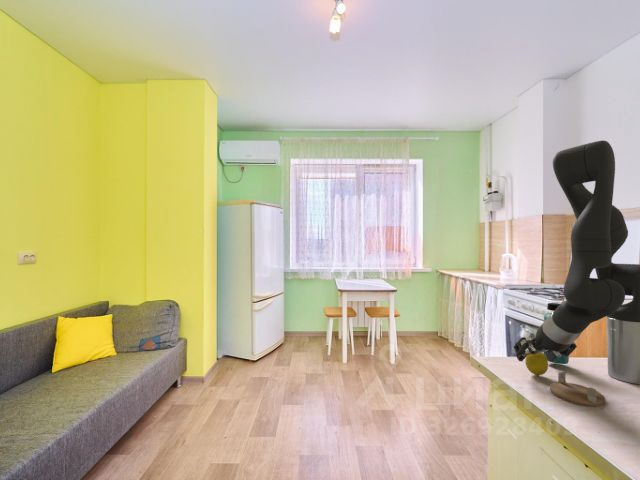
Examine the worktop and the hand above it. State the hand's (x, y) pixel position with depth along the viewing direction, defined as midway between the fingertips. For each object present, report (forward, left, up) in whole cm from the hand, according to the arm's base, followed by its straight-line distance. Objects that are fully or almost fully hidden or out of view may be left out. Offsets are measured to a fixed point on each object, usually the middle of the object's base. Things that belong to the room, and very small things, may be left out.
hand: (533, 358), depth 93 cm
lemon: (+1, +1, -5) cm, 5 cm away
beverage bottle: (-13, +5, -5) cm, 15 cm away
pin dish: (+9, +10, -5) cm, 14 cm away
